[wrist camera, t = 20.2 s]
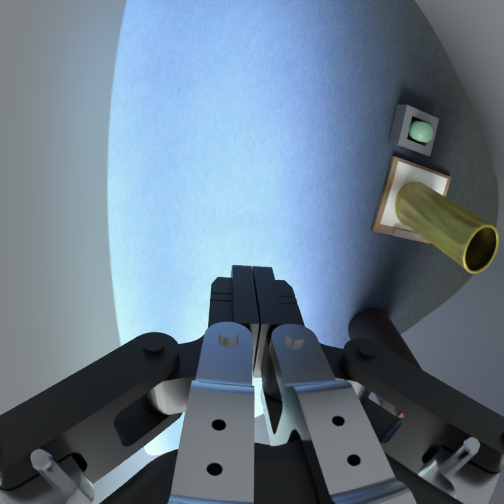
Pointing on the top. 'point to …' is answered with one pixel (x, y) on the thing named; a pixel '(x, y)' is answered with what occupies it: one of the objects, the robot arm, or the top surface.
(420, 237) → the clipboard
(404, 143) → the button housing
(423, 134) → the button
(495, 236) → the vase
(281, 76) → the top surface
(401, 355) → the bottle
